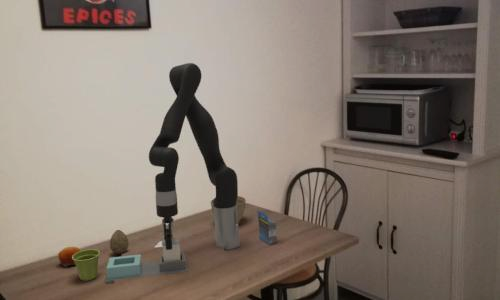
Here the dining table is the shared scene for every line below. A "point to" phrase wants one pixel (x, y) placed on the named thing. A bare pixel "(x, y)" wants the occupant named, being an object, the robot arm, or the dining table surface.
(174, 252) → the plug
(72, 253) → the fruit
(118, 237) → the decorative egg
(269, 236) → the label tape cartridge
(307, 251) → the dining table surface
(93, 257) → the plant pot
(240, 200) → the planter bowl
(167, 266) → the panel
